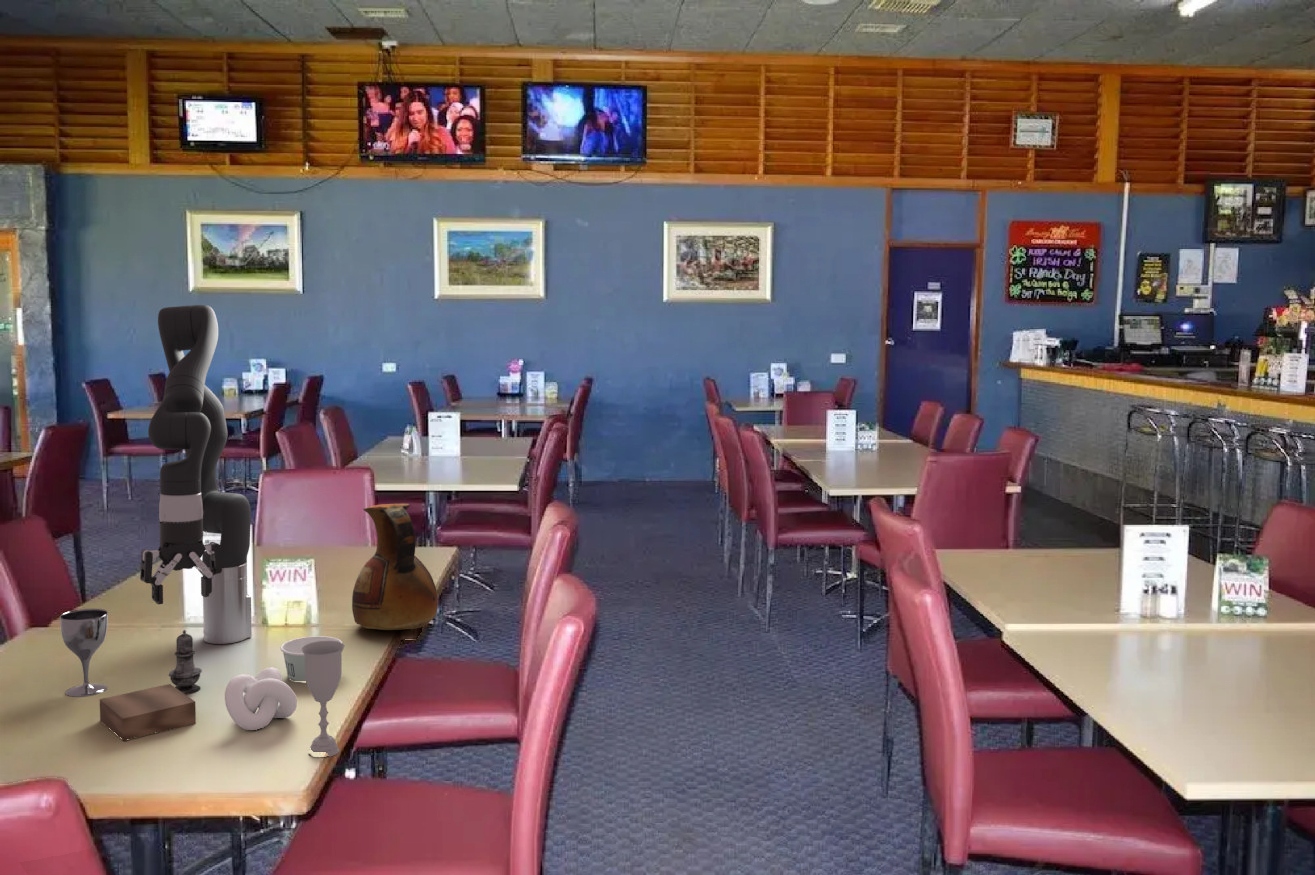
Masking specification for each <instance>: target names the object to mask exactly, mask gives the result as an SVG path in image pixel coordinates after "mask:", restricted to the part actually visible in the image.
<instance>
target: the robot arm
mask: <svg viewBox="0 0 1315 875" xmlns="http://www.w3.org/2000/svg"><path fill="white" fill-rule="evenodd" d="M157 326H158V327H157V328H158V333H159V337H160V341H161V345H162V349H163V352H164V356H165V361H166V364H167V367H168V371H169V373H168V374H167V378H166V380H165V384H164V385H165V386H164V393H163V399H162V401H161V403H160V405H159V406H158V408H157V409H156V411H155V412H154V413H153V416H152V417H151V419H150V422H149V425H148V431H147V433H148V434H147V435H148V439H149V441H150V443H151V444H152V445H153V447H156V448H157V449H159V450H184V453H185V458H183V459H180V460H174V461H169V462H166V463H163V464H162V466H161V467H160V470H159V476H160V478H159V479H160V495H159V496H160V498H159V504H158V506H159V508H158V510H159V511H158V512H159V513H158V515H159V516H158V517H159V518H158V519H159V522H158V523H159V548H158V549H156V550H155V549H154V550H149V549H143V550H141V554H140V555H141V557H140V575H139V577H140V578H139V579H140V581H142V582H144V583H145V584H151V600H152V601H154V602H155V604H157V605H163V604H164V585H163V584H162V583H163V582H164V580H166V578H167V577H169V575H170V574H171V572H172V571H175V572H177V571H180V570H181V571H182V570H184V569H185V570H190V569H191V570H192V569H193V568H195V569H196V570H197V571H198V572H199V573H200V575H202V576H201V577H200V594H201V597H202V606H203V607H202V609H203V610H202V612H203V613H202V614H203V631H202V632H203V642H205V643H208V644H213V645H225V644H232V643H233V644H234V643H238V642H241V641H243V640H246V639H249V638H252V637H253V634H252V629H253V628H252V596H251V595H249V594H248V554H249V551H250V550H249V549H250V547H251V527H252V526H251V525H252V512H251V511H252V510H251V505H250V502H249V500H248V499H247V496H245V495H243V494H240V493H237V492H235V493H233V492H221V491H219V489H218V488H219V487H218V483H217V475H216V469H217V465H218V462H219V460H220V458H221V456H222V453H223V450H224V449H225V446H226V444H227V440H228V436H229V434H228V426H227V421H226V416H225V414H226V413H225V409H224V405H223V404H222V402H221V400H219V398H218V397H217V395H216V394H215V393H213V391H212V390H211V389H210V388H209V387H208V386H207V385H206V379H207V374H208V371H209V369H210V366H211V363H212V361H213V358H214V354H215V351H216V348H217V345H218V340H219V325H218V319H217V316H216V313H215V311H214V309H213V308H212V307H211V306H210V305H205V304H204V305H203V304H195V305H194V304H193V305H180V306H168V307H167V306H166V307H162V308H160V310H159V312H158V314H157ZM184 351H188V352H187V354H185V353H184ZM204 533H208V534H209V533H210V534H219V535H220V540H219V543H217V542H215V541H211V542H209V543H208V544H204ZM157 558H159V559H160V560H161V562H160V563H159V565H158V566H157V568H156V570H155V572H154V574H153V563H154V562H156V559H157Z"/></svg>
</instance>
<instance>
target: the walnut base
mask: <svg viewBox="0 0 1315 875" xmlns="http://www.w3.org/2000/svg"><path fill="white" fill-rule="evenodd" d="M175 687H176V686H175V685H174V686H173V685H172V684H171V683H169V684H163V685H159V686H154V687H151V688H149V687H148V688H145V689H141V690H135V691H131V692H126V693H122V694H117V695H112V696H108V697H104V698H100V699H99V720H100V722H101V724H103V725H104V724H105V725H106V726H105V725H104V726H105V727H107V729H109V728H110V729H111V730H112V731H113V732H115V733H116V734H117V735H118V736H119V737H121V738H122V740H127V739H131V738H134V737H139V738H142V737H141V736H143V737H145V736H144V735H147V736H149V735H148V734H151V735H153V734H152V733H155V732H159V733H162V731H163V732H166V730H167V731H171V730H174V728H175V729H178V728H182V727H183V728H184V727H187V726H191V725H194V724H197V717H196V714H197V711H196V710H197V709H196V701H195V700H194V699H193V698H191V697H189V696H188V694H186V695H185V694H184V693H182V692H181V691H179V690H178V689H177V688H175ZM190 724H191V725H190ZM110 729H109V730H110ZM170 729H171V730H170ZM111 730H110V731H111ZM112 731H111V732H112ZM113 732H112V733H113ZM115 733H114V734H115ZM116 734H115V735H116ZM155 734H156V733H155ZM117 735H116V736H117ZM118 736H117V737H118ZM119 737H118V738H119ZM122 740H121V741H122ZM131 740H132V739H131ZM127 741H128V740H127Z"/></svg>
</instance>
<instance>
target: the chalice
mask: <svg viewBox="0 0 1315 875" xmlns="http://www.w3.org/2000/svg"><path fill="white" fill-rule="evenodd" d="M344 649H345V645H344V643H343V642H342V643H340V642H336V641H319V642H314V643H310V644H307V645H305V646H303V647H302V649H301V650H302V652H303V654H304V655H305V680H306V682H307V683H306V684H307V688H308V689H309V692H310V693H311V696H312V698H313V699H314V701H315V702H317V703H320V704H319V705H320V709H319V712H318V715H319V717H320V721H319V722H318V724H317V725H318V726H319V728H320V734H319V735H318V736H316V737H314V739H313V740H312V742H311V745H310V746H309V747H310V748H311V750H312V751H313V752H326V753H328V755H329V757H328V758H330V757H333V756H335V755H337V754H338V753H339V752H340V748H339V747H338V744H337V742H336V739H335V737H333V735H329V733H327V732H328V731H327V729H328V728H327V727H328V725H329V724H330V722H329V721H328V720H327V716H328V714H329V711H328V709H327V704H328V702H329V701H332V700H333V698H334V695H335V693H336V691H337V689H338V687H339V683H340V680H341V677H342V652H343V650H344Z"/></svg>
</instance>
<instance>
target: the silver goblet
mask: <svg viewBox="0 0 1315 875" xmlns="http://www.w3.org/2000/svg"><path fill="white" fill-rule="evenodd" d="M59 621H60V622H59V624H60V626H59V627H60V633H61V637H62V640H63V643H64V645H65V646H66V648H68V650H70V651H71V652H72V653H73V654H75V655H76V656H77V657H78V659H79V661H80V663H81V667H82V673H83V684H78V685H76V686H72V687H69V688H68V689H67V690H65V692H64V693H65V696H68V697H75V698H77V697H78V698H80V697H81V698H82V697H90V696H94V695H95V696H96V695H98V694H101V693H104V692H105V691H106V690H108V685H106V684H103V683H94V682H93V683H90V682H89V669H90V661H91V659H92V657H93V656H94V654H95V653H96V652H97V651H98V650H99V649H100V647H101V646H102V645H103V643H104V642H105V639H106V636H107V633H108V632H107V631H108V626H109V625H108V624H109V614H108V610H106V609H102V608H80V609H73V610H69V611H67V612H64V613H62V614H61V615H60V616H59Z"/></svg>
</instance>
